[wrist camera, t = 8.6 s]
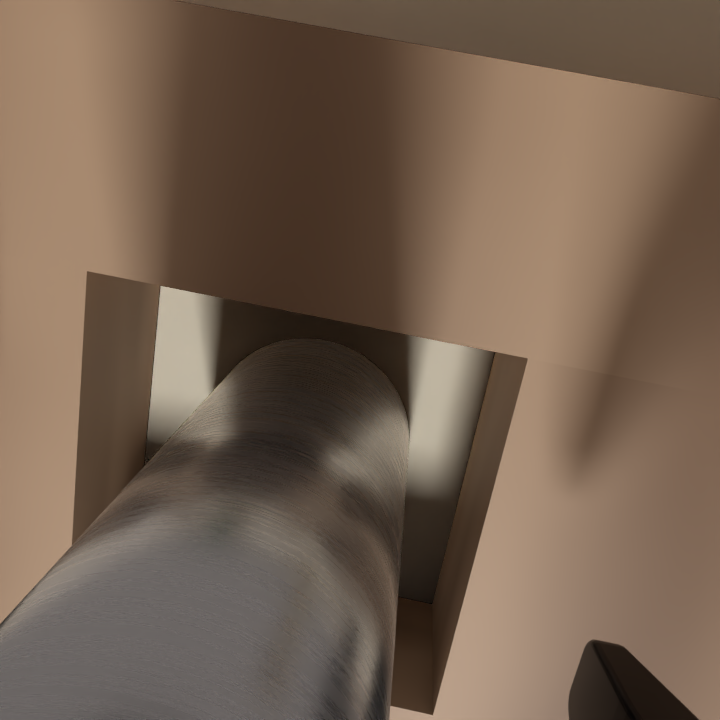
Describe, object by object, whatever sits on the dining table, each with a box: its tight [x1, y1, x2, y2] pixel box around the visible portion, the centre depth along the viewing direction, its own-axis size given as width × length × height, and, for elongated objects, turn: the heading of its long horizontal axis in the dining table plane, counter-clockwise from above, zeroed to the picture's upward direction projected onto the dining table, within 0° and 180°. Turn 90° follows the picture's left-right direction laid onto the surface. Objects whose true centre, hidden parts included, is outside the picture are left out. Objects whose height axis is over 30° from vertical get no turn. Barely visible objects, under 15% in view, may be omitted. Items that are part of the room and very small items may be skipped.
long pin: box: [0, 338, 409, 720], centre depth 9 cm, size 4×4×10 cm
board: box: [0, 0, 720, 720], centre depth 12 cm, size 20×14×3 cm
